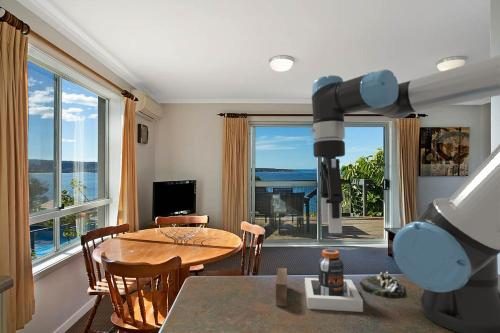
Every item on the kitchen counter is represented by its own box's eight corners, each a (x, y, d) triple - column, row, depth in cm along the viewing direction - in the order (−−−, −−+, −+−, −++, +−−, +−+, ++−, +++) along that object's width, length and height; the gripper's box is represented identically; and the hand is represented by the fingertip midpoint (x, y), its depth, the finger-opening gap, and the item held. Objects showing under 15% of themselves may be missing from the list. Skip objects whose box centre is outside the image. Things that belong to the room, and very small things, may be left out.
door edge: (286, 286, 75) (286, 268, 75) (286, 306, 64) (286, 284, 64) (278, 286, 76) (277, 267, 76) (276, 305, 65) (275, 284, 65)
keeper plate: (351, 289, 73) (351, 279, 73) (363, 311, 61) (362, 300, 61) (304, 287, 75) (304, 277, 75) (307, 308, 63) (307, 297, 63)
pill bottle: (329, 304, 65) (328, 255, 65) (313, 294, 70) (313, 249, 70) (349, 299, 67) (348, 252, 67) (332, 290, 72) (331, 246, 73)
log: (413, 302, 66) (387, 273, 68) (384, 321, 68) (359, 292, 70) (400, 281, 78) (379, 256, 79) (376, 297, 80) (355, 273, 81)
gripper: (309, 146, 82) (311, 218, 81) (318, 134, 57) (320, 238, 57) (336, 145, 81) (338, 219, 80) (356, 133, 56) (359, 238, 55)
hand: (330, 227), depth 68 cm, fingers open, 13 cm apart
